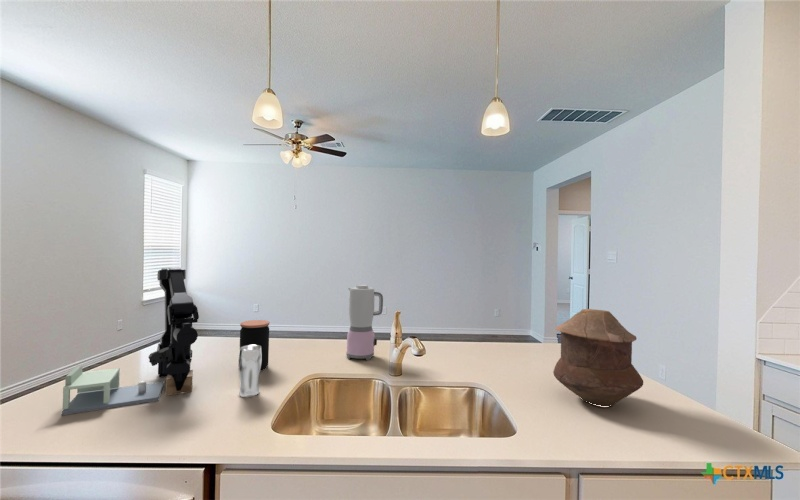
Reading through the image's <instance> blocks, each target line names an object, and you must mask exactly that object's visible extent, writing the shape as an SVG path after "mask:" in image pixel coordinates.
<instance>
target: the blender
mask: <svg viewBox="0 0 800 500" xmlns="http://www.w3.org/2000/svg"><path fill="white" fill-rule="evenodd" d="M347 289H348V291H349V293H348V294H349V295H348V296H349V297H348V315H349V322H350V326H349V329H348V331H347V335H346V352H345V354H346V359H347V360H351V358H352V359H365V360H366V362H367V361H370V360H371V358H372V357H373V356H374V355H375V346H378V345H377V344H378V339H377V338H375V335H376V334H375V333H374V330H373V319H374V316H381V315H382V314H383V308H384V306H383V305H384V296H383V294H382V293H381V292H379V291H375V289H374V287H370V286H369V285H368V284H357V285H356V287H354V286H353V287H349V288H347ZM375 297H378V300H379V301H378V311H377V310H375V300H376V299H375Z"/></svg>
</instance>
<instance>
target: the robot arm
mask: <svg viewBox="0 0 800 500" xmlns="http://www.w3.org/2000/svg"><path fill="white" fill-rule="evenodd" d="M186 271H187V270H186V269H184V268H181V267H162V268H161V269H159V270H158V271H157V274H156V275H157V281H158V283H159V287H160V288H161V289H162V291H164V332H163V334H162V335H161V336H160V338H159V343H157V349H156V350H155V351H154V352H151V353H150V354H149V355H148V359H149V360H148V362H149V363H150V364H151V366H153V367H154V366H156V365H157V375H158V377H159V378H164V377H165V378H167V375H171V376H173V378H174V382H175V386H176V390H177V391H180V390H181V388H182V386H183V384H184V382H185V380H186V378H187V376H188V373H189V372H190V370H191V364H192V358H193V350H192V345H194V343H195V342H196V341H197V339H198V336H199V334H198V331H197V329H196V328H195V327H193V324H194V323H198V321H199V317H200V316H199V310H198V306H197V305H196V303H194V301H193V297H192V296H190V295H188V293H187V287H186V283H185V280H186V279H187V278H186V277H187V276H186V274H187V272H186Z"/></svg>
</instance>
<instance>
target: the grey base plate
mask: <svg viewBox="0 0 800 500" xmlns="http://www.w3.org/2000/svg"><path fill="white" fill-rule="evenodd" d="M147 382H148V381H146V380H142V381H139V382H138V384H133V385H129V386H122V387H121V386H119V388H112V389H110V402H109V403H103V402H104V390H97V391H89V392H82V393H77V394H76V395H75V396H74V397H73V398H72V399H71V400H70V407H69V408H68V409H62V410H61V416H63V415H71V414H77V413H78V414H79V413H85V412H91V411H99V410H105V409H112V408H117V407H119V408H120V407H125V406H131V405H132V406H133V405H137V404H145V403H151V402H157V401H159V400H160V397H161V394H162V391H163V388H164V386H165V381H159V382H149V383H147Z"/></svg>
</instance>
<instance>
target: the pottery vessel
mask: <svg viewBox="0 0 800 500" xmlns="http://www.w3.org/2000/svg"><path fill="white" fill-rule="evenodd" d="M555 330H556V331H557V332H559V333H560V358H559V359H558V361H557V362H556V364H555V366H554V368H553V371H552V372H553V375H554V377H555V379H556V380H557V381H558V382H559V383H560V384H561V385H563V387H566V389H568V390H569V391H570V392H572V393H573V394H574V395H577V396H578V397H579V398H580V397H581V398H582V399H583V400H585V401H587V402H590V403H592V404H596V405H601V406H610V405H613V404H614V405H615V404H616V403H618V402H620V401H622V400H623V399H625V398H627V397H629V396H630V395H632V394H633V393H635V392H637V391H638V390H640V389H641V388H642V387H643V385H644V379H643V377H642V376H641V374H640V373H639V372H638V370H637V369H636V368H635V366H634V365H633V363H632V362H633V361H632V360H633V359H632V354H633V342H635V341H637V336H636V335H634V334H633V333H632V332H630V331H629V330H627V329H626V328H625V327H624V326H623V325H622V324H621V322H620V321H619V320H618V319H617V317H616V316H614V314H612V312H610V311H609V310H604V309H603V310H602V309H593V308H583V309H581V310H580V311H578V312H577V313H576V314H574V315H573V316H571V317H570V318H569V319H567V320H566V321H564V322H562V323H561V324H559V325H557V326H556V327H555ZM581 398H580V399H581ZM582 399H581V400H582ZM583 400H582V401H583ZM585 401H584V402H585ZM614 405H613V406H614Z"/></svg>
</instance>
